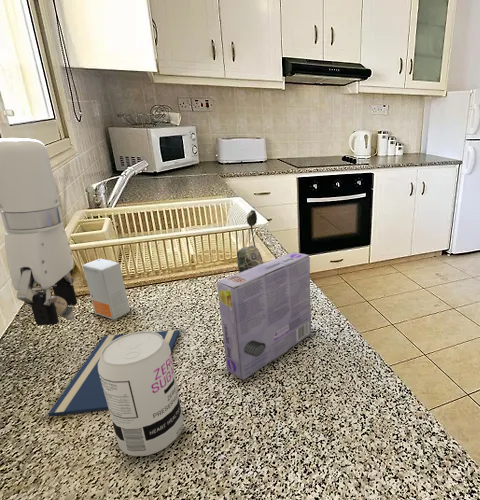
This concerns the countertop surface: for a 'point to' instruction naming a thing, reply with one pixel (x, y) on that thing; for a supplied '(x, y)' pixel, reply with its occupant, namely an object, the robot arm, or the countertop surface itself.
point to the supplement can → (141, 392)
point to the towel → (93, 382)
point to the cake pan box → (264, 312)
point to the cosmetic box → (106, 288)
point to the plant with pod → (249, 249)
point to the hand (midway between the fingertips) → (58, 313)
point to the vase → (61, 307)
